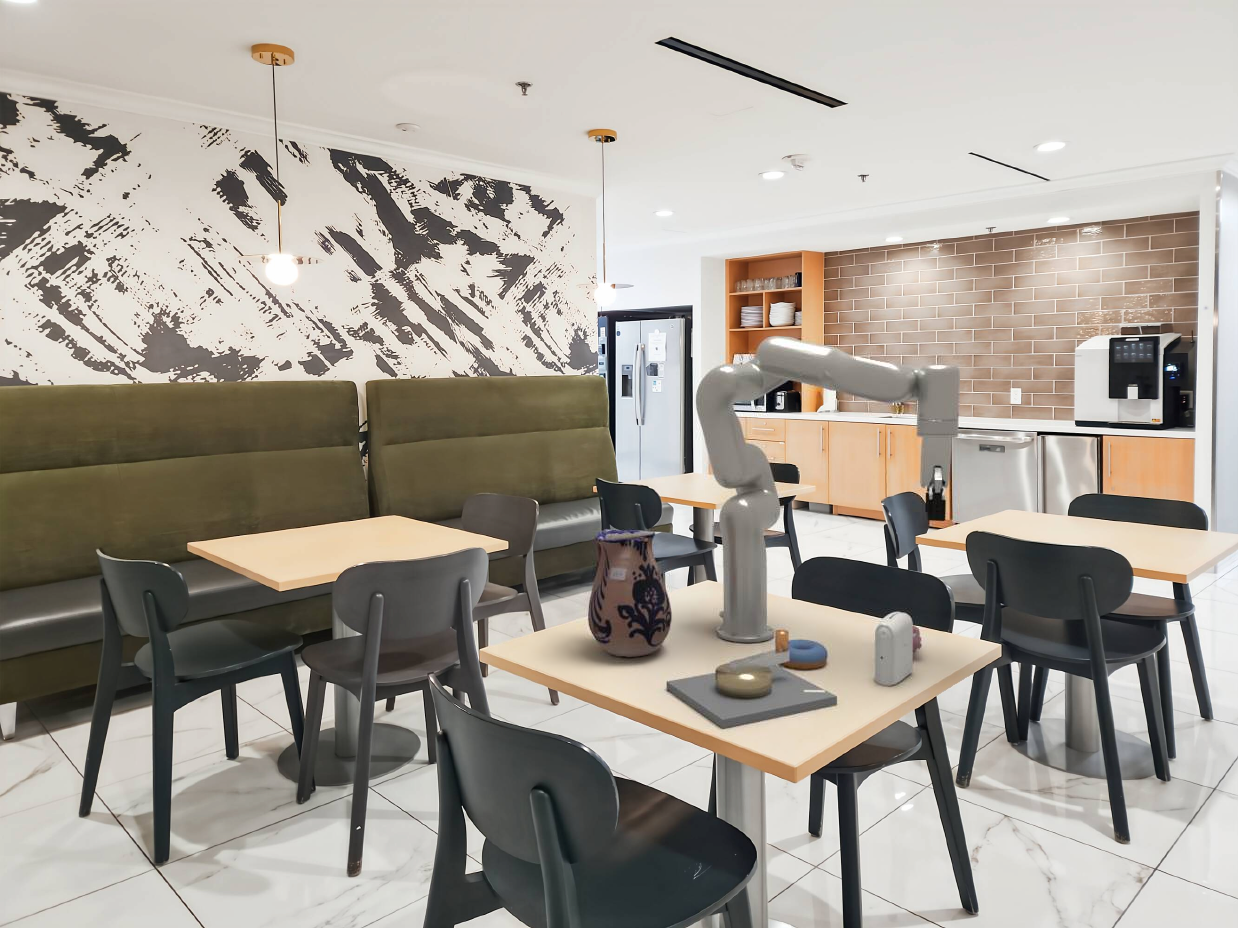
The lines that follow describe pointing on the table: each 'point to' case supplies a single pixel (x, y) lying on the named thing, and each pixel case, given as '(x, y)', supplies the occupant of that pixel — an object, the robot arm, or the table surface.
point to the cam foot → (752, 671)
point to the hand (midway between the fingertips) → (934, 516)
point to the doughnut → (806, 654)
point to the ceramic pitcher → (628, 595)
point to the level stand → (733, 711)
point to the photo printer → (893, 648)
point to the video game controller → (916, 639)
